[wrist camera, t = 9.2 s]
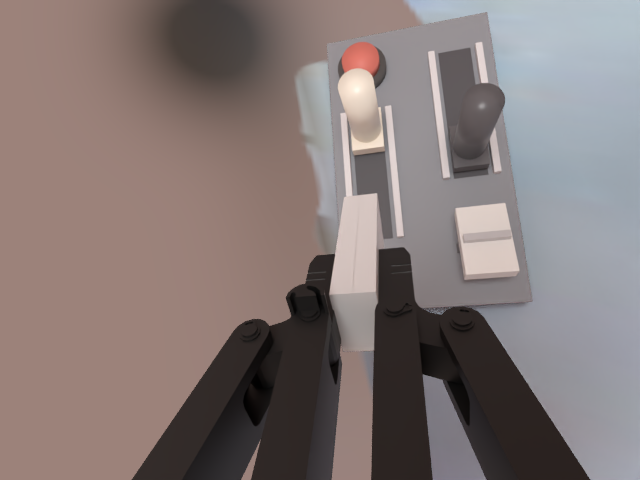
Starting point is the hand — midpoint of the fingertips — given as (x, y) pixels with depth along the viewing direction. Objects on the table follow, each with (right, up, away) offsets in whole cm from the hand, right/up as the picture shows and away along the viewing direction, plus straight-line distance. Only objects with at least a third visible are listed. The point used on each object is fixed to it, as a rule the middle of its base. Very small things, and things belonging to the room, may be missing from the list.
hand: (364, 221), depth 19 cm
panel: (+8, +6, +22) cm, 24 cm away
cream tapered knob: (+3, +9, +21) cm, 23 cm away
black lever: (+12, +7, +19) cm, 23 cm away
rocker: (+12, -1, +16) cm, 20 cm away
